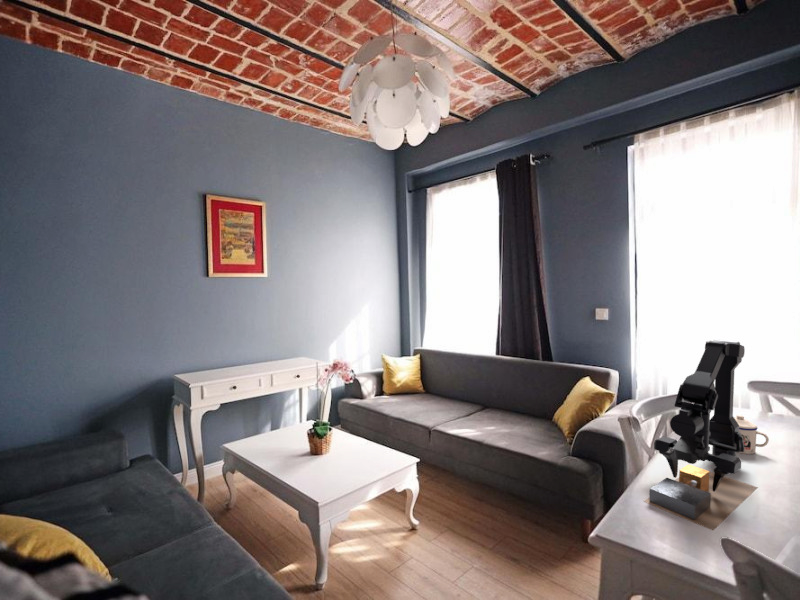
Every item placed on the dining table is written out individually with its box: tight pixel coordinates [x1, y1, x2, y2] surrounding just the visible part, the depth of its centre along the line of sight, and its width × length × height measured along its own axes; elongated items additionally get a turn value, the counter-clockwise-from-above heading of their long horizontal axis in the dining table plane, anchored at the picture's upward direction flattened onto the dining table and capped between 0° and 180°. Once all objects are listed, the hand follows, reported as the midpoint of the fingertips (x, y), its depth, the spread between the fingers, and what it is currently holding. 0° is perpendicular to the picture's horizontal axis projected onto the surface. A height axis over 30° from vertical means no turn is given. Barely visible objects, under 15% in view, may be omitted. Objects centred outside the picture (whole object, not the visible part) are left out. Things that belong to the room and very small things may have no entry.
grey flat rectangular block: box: [649, 477, 711, 520], centre depth 108 cm, size 22×10×4 cm, turn 125°
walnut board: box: [643, 471, 759, 531], centre depth 110 cm, size 33×15×1 cm, turn 125°
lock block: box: [678, 463, 711, 491], centre depth 112 cm, size 6×5×5 cm
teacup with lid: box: [733, 414, 770, 455], centre depth 140 cm, size 12×9×12 cm
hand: (694, 483), depth 112 cm, fingers open, 9 cm apart
